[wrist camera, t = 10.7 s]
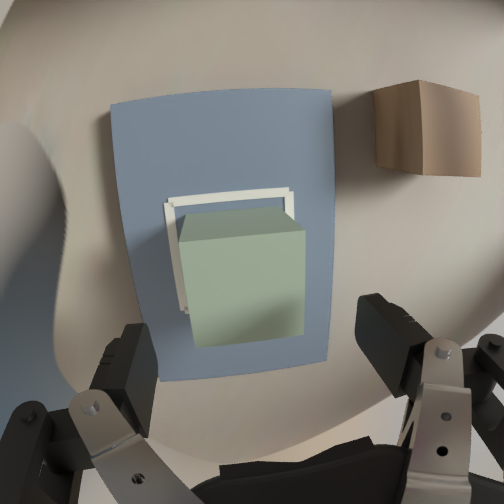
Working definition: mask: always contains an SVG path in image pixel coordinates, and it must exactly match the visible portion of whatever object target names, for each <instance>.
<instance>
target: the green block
mask: <svg viewBox="0 0 504 504" xmlns="http://www.w3.org/2000/svg"><path fill="white" fill-rule="evenodd" d="M178 243H179V250H180V258H181V265H182V271H183V278H184V285H185V291H186V297H187V303H188V309H189V315H190V321H191V326H192V332H193V337H194V342H195V348H203V347H213V346H223V345H232V344H241V343H249V342H257V341H264V340H271V339H278V338H285V337H292V336H298V335H304V312H305V257H306V230H305V229H303V228H302V227H301V226H300V225H299V224H298V223H297V222H295V221H294V220H293V219H292V218H291V217H290V216H289V215H288V214H286V213H285V212H284V211H283V210H282V209H281V208H279V207H278V206H273V207H260V208H248V209H236V210H225V211H214V212H204V213H194V214H186V217H185V220H184V224H183V227H182V231H181V235H180V239H179V242H178Z"/></svg>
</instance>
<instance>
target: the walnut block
mask: <svg viewBox="0 0 504 504" xmlns="http://www.w3.org/2000/svg"><path fill="white" fill-rule="evenodd" d="M373 99H374V114H375V135H376V166H379V167H385V168H390V169H395V170H400V171H405V172H410V173H414V174H419V175H433V176H463V177H481V119H480V104H479V96H478V95H475V94H471V93H468V92H465V91H461V90H458V89H454V88H450V87H447V86H443V85H439V84H435V83H430V82H426V81H421V80H416V81H411V82H406V83H402V84H397V85H393V86H389V87H384V88H380V89H376V90H373Z"/></svg>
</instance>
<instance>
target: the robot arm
mask: <svg viewBox="0 0 504 504" xmlns="http://www.w3.org/2000/svg"><path fill="white" fill-rule="evenodd" d="M355 338H356V341H357V344H358V345H359V347H360V348H361V350H362V351H363V353H364V354H365V355H366V357H367V358H368V360H369V361H370V363H371V364H372V365H373V367H374V368H375V370H376V371H377V373H378V374H379V376H380V377H381V378H382V380H383V381H384V383H385V384H386V386H387V387H388V389H389V390H390V392H391V393H392V395H393V396H394V397H395V398H398V397H401V396H403V395H406V394H407V395H408V397H409V399H408V401H407V404H406V409H405V414H404V418H403V423H402V428H401V431H400V435H399V439H398V443H397V446H396V445H387V444H377V445H373V443H372V441H371V439H370V437H369V436H367V437H363V438H360V439H357V440H353V441H350V442H346V443H343V444H339V445H335V446H333V447H331V448H329V449H328V450H325V451H323V452H321V453H319V454H317V455H315V456H313V457H310V458H308V459H306V460H304V461H301V462H266V461H255V462H247V463H239V464H230V465H219V469H220V476H216V477H213V478H211V479H209V480H206V481H204V482H202V483H200V484H198V485H197V486H195V487H194V488H192V489H189V488H188V487H187V486H186V485H185V484H184V483H183V482H182V481H181V480H180V479H179V478H178V477H177V476H176V475H175V474H174V473H173V472H172V471H171V470H170V468H169V467H168V466H167V465H166V464H165V463H164V462H163V461H162V460H161V458H160V457H159V456H158V455H157V454H156V453H155V452H154V450H153V449H152V448H151V447H150V446H149V444H148V443H147V442H146V441H145V440H144V438H148V435H149V427H150V420H151V413H152V406H153V400H154V393H155V387H156V381H157V375H158V361H157V356H156V353H155V349H154V346H153V342H152V339H151V335H150V332H149V328H148V325H147V324H146V323H138V324H127V325H126V326H125V328H124V331H123V333H122V336H121V338H115V339H113V340H112V341H111V342H110V343H109V344H108V345H107V346H106V349H105V351H104V353H103V357H102V358H101V360H100V365H98V368H97V370H96V373H95V375H94V378H93V380H92V383H91V385H90V388H89V390H86V391H83V392H81V393H79V394H78V395H76V396H75V397H74V398H73V399H72V400H71V402H70V404H69V408H66V409H62V410H56V411H51V412H48V411H47V409H46V408H45V406H44V405H43V404H42V403H40V402H38V401H28V402H25V403H22V404H21V405H19V406H18V407H17V408H16V409H15V410H14V411H13V413H12V415H11V417H10V419H9V422H8V424H7V426H6V429H5V431H4V434H3V436H2V438H1V441H0V504H78V498H79V491H80V484H81V479H82V473H83V470H86V469H91V468H96V470H97V471H98V473H99V475H100V476H101V478H102V480H103V481H104V483H105V484H106V486H107V488H108V489H109V491H110V492H111V494H112V495H113V497H114V498H115V500H116V501H117V503H118V504H504V481H503V482H499V481H496V480H493V479H489V478H486V477H483V476H480V475H477V474H473V473H471V472H469V462H470V448H471V425H472V426H473V427H474V428H475V430H476V431H477V433H478V434H479V436H480V437H481V439H482V440H483V441H484V443H485V444H486V446H487V447H488V449H489V450H490V452H491V453H492V455H493V456H494V458H495V459H496V461H497V463H498V464H499V465H500V467H501V469H502V470H503V479H504V406H503V405H502V403H501V402H500V401H499V400H498V398H497V397H496V396H495V395H494V394H493V392H492V391H493V389H494V387H495V385H496V383H498V384H499V385H500V386H501V387H502V388H503V389H504V338H503V337H502V336H499V335H496V334H485V335H483V336H481V337H480V339H479V342H478V345H477V347H476V348H467V349H461V347H460V346H459V345H458V344H457V343H456V342H454V341H452V340H449V339H446V338H433V337H432V336H431V335H430V334H429V333H428V332H427V331H426V330H425V329H424V328H423V327H422V326H421V325H420V324H419V323H418V322H415V320H414V319H413V318H412V317H411V316H409V314H408V313H407V312H406V311H405V310H404V309H403V308H401V307H399V306H397V305H395V304H393V303H389V302H388V301H387V300H386V299H384V298H383V297H382V296H381V295H380V294H379V293H374V294H369V295H363V296H360V297H359V299H358V303H357V314H356V323H355ZM42 463H43V465H42ZM41 466H42V468H41ZM40 470H41V472H40ZM39 474H40V476H39Z"/></svg>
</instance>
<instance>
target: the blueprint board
mask: <svg viewBox="0 0 504 504" xmlns="http://www.w3.org/2000/svg"><path fill="white" fill-rule="evenodd" d="M110 110H111V127H112V141H113V152H114V162H115V172H116V180H117V188H118V196H119V203H120V210H121V216H122V223H123V229H124V234H125V240H126V246H127V251H128V256H129V261H130V266H131V271H132V276H133V280H134V285H135V289H136V294H137V298H138V302H139V306H140V311H141V315H142V319H143V322H144V323H146V324H147V325H148V328H149V332H150V335H151V339H152V342H153V346H154V349H155V353H156V356H157V361H158V375H159V378H160V381H161V382H163V381H180V380H194V379H205V378H216V377H225V376H234V375H242V374H250V373H257V372H264V371H271V370H277V369H284V368H290V367H295V366H301V365H307V364H312V363H317V362H322V361H326V360H327V350H328V339H329V327H330V314H331V300H332V283H333V262H334V229H335V165H334V133H333V112H332V96H331V90H321V89H294V88H258V89H231V90H216V91H203V92H192V93H183V94H175V95H167V96H159V97H153V98H146V99H140V100H134V101H129V102H123V103H118V104H113V105H110ZM273 206H278V207H279V208H281V209H282V210H283V211H284V212H285V213H286V214H288V215H289V216H290V217H291V218H292V219H293V220H294V221H295V222H297V223H298V224H299V225H300V226H301V227H302V228H303V229H305V230H306V257H305V312H304V335H298V336H292V337H285V338H278V339H271V340H264V341H257V342H249V343H241V344H232V345H223V346H213V347H203V348H195V342H194V337H193V332H192V326H191V321H190V315H189V309H188V303H187V297H186V291H185V285H184V278H183V271H182V265H181V258H180V250H179V243H178V242H179V239H180V235H181V231H182V227H183V224H184V220H185V217H186V214H194V213H204V212H214V211H225V210H236V209H248V208H260V207H273Z"/></svg>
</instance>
